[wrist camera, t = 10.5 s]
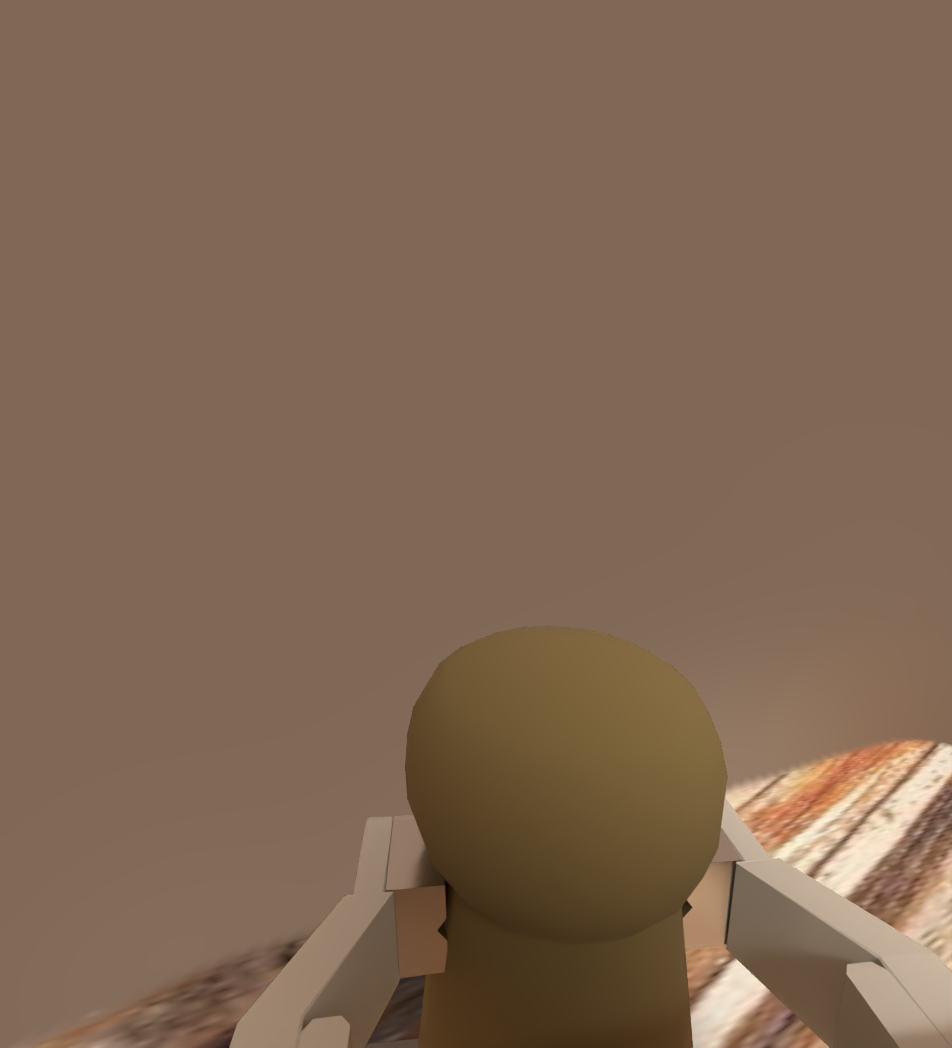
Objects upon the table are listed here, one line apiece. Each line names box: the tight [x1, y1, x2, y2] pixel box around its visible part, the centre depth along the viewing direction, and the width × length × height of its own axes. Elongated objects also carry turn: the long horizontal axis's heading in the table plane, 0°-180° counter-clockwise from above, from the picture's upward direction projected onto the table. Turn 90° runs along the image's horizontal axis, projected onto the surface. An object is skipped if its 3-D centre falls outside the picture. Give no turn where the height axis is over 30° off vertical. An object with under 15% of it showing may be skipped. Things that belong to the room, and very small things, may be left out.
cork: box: [405, 626, 727, 1048], centre depth 9 cm, size 6×6×11 cm
